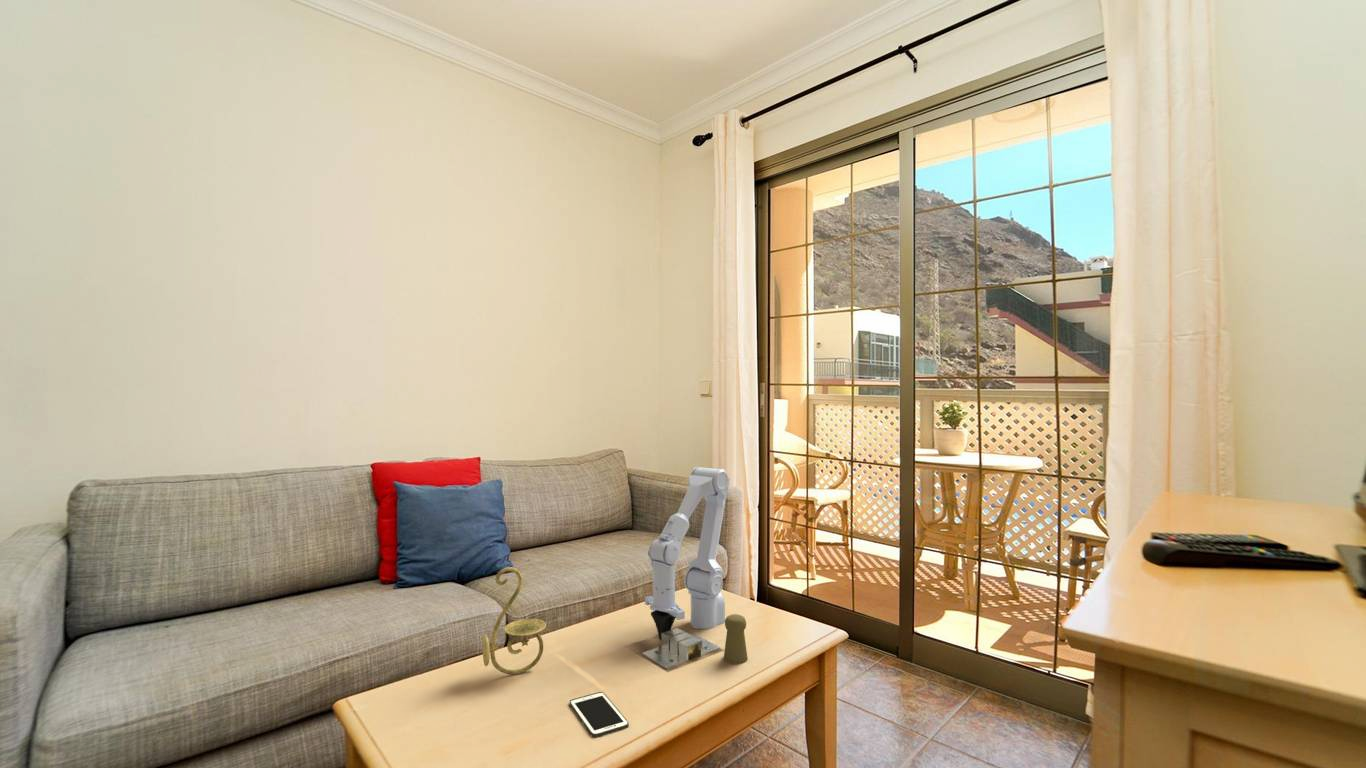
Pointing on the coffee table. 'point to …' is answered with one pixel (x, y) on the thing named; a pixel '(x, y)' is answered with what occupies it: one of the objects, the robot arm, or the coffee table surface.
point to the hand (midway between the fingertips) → (664, 639)
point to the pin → (691, 651)
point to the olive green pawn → (735, 640)
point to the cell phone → (598, 714)
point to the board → (656, 642)
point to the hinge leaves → (678, 648)
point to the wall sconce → (513, 631)
